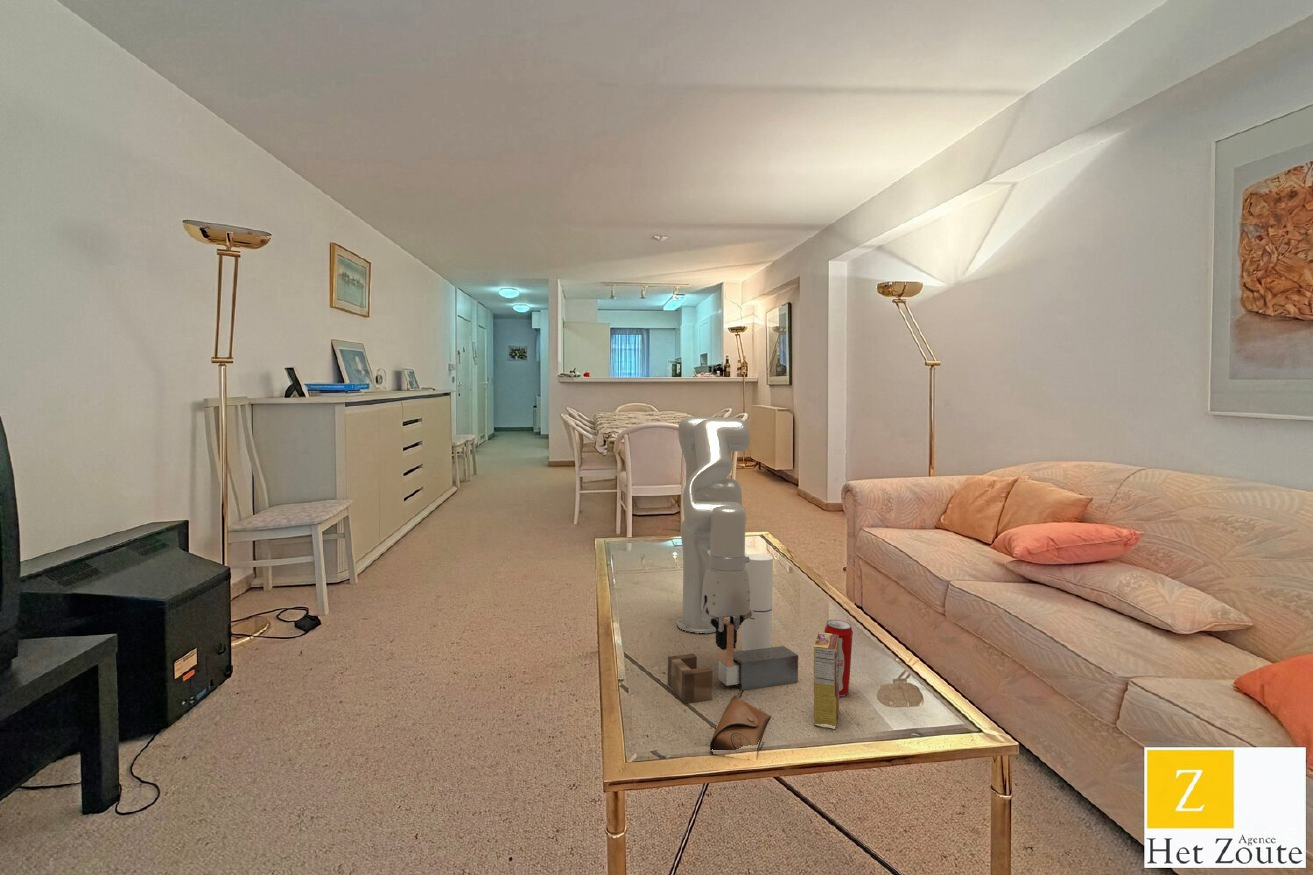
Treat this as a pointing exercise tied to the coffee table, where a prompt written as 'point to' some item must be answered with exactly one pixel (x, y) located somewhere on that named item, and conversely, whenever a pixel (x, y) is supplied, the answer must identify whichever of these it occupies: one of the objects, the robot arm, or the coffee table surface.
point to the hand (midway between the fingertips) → (726, 646)
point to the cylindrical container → (759, 603)
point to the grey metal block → (767, 667)
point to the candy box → (826, 679)
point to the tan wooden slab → (729, 659)
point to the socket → (689, 678)
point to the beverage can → (842, 651)
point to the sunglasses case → (739, 726)
